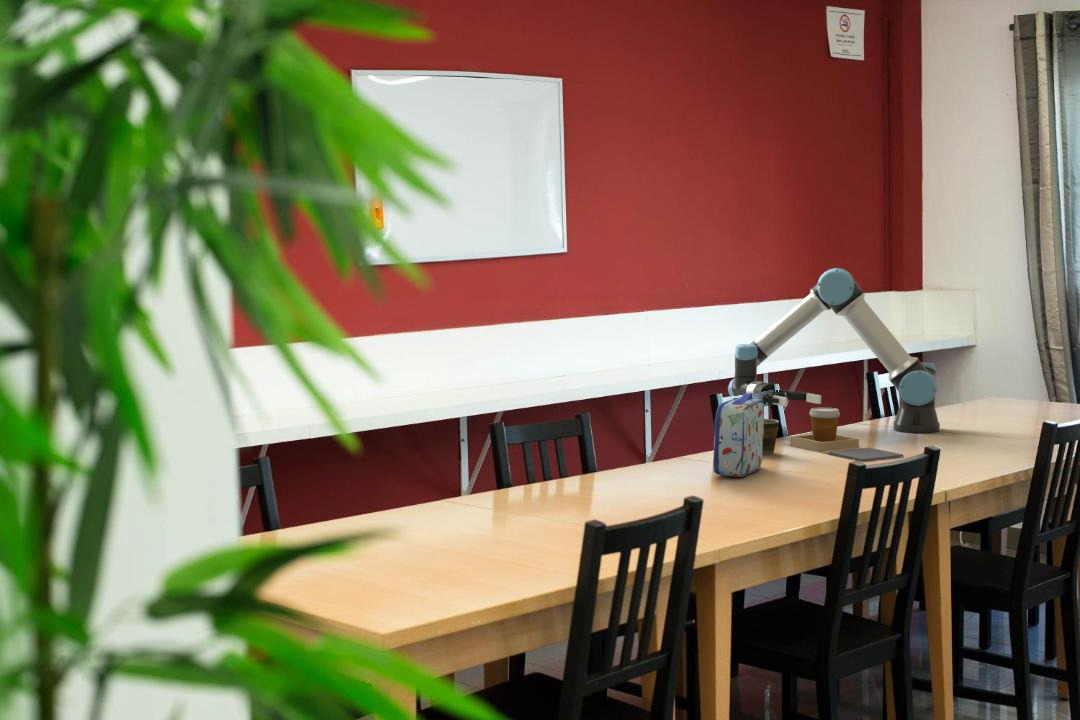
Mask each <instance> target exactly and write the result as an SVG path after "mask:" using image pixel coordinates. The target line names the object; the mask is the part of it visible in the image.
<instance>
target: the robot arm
mask: <svg viewBox="0 0 1080 720" xmlns="http://www.w3.org/2000/svg"><path fill="white" fill-rule="evenodd" d="M865 295H866V294H865V291H864V290H863V289H862V288H861V287H860V285H859V284H858V283H857V281H855V278H854V276H853V275H852V272H849V271H848V270H847V269H845V268H843V267H842V268H841V267H833V268H830V269H828V270H826V271H824V272H823V273H822V274H821V275H820V277H819V278H818V280H817V283H816V284H815V285H813V287H811V288H810V291H809V294H808V295H806V296H805V297H804V298H803V299H802V300H801V301H800V302H798V303H797V304H796V305H794V306H793V307H792V308H791V309H790V310H788V311H787V312H786V313H785V314H784V315H783V316H781V317H780V318H779V319H778V320H776V322H774V323H773V324H772V325H771V326H770V327H768V328H767V329H766V330H765V331H763V332H762V334H760V335H759V336H758V337H757V338H755V339H754V340H753V341H752V342H750V343H742V344H741V343H740V344H739V343H738V344H737V345H736V346H734V347H735V348H734V349H735V350H734V351H735V352H734V376H733V377H734V378H733V379H731V380H730V381H729V384H728V386H727V391H728V394H729V396H730V397H731V396H738V395H743V394H748V393H758V392H763V391H768V390H770V389H771V388H772V387H771V386H772V385H774V384H773V383H769V382H764V381H758V378H757V377H758V376H757V375H758V373H757V372H758V366H760V365H761V364H762V363H763V362H764V361H766V359H768V357H770V356H771V355H772V354H774V353H775V352H776V351H777V350H778V349H780V348H781V347H782V346H783V345H784V344H786V343H787V342H788V341H790V339H792V338H793V337H794V336H796V335H797V334H798V333H799V332H800V331H801V330H802V329H804V328H805V327H806V326H807V325H809V324H810V323H811V322H813V320H814V319H816V318H817V317H819V315H821V314H822V313H823V312H824V311H830V310H831V311H833V312H834V314H835V315H836V316H842V317H844V319H845V320H846V321H847V322H848V324H849V325H850V326H851V327H852V328H853V330H854V331H855V332H856V333H857V335H858V336H859V337H860V339H861V340H862V341H863V342H864V344H866V346H867V347H868V348H869V349H870V351H871V352H872V353H873V355H874V356H875V357H876V358H877V359H878V360H879V362H880V363H881V364H882V366H883V367H884V368H885V369H886V370H887V372H888V380H889V382H890V383H891V384H892V385H893V387H894V388H895V389H896V390H897V391H898V393H899V397H898V398H899V403H898V410H897V414H896V418H895V420H894V421H893V430H894V431H896V432H904V433H914V434H925V433H926V434H928V433H931V434H932V433H937V432H939V431H941V424H940V421H939V419H938V418H939V417H938V414H937V411H936V394H937V391H938V383H937V380H936V374H937V369H936V365H935V363H932V362H921V360H920V359H919V358H918V357H914V356H911V355H910V354H909V353H908V352H907V350H906V349H905V348H904V347H903V346H902V344H901V342H899V341H898V339H897V338H896V337H895V336H894V335H893V333H892V332H891V331H890V330H889V328H888V327H887V326H886V325H885V324H884V322H883V321H882V320H881V318H879V316H878V315H877V314H876V312H875V311H874V310H873V309H872V307H871V306H870V305H869V304H868V302H866V300H865ZM773 387H774V386H773ZM775 387H776V388H777V386H776V385H775ZM759 394H760V396H759V397H760V398H759V399H760V400H762V402H763V404H766V402H768V406H767V407H771V406H773V405H777V406H781V407H788V402H789V401H799V402H800V401H801V402H802V401H804V402H806V403H812V404H818V405H821V404H822V395H820V394H814V392H811V391H810V390H807V392H806V391H792V390H784V389H783V390H782V389H779V392H778V390H776V392H775V393H774V390H770V392H769V393H767V394H766V395H764V394H763V393H759ZM766 396H767V397H766ZM772 403H773V405H772Z"/></svg>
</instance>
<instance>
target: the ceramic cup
mask: <svg viewBox="0 0 1080 720" xmlns="http://www.w3.org/2000/svg"><path fill="white" fill-rule="evenodd" d="M779 427H780V421H779V420H778V419H771V418H764V433H763V445H762V449H763V456H771V455H773V454H774V453H775V450H776V449H775V448H776V442H777V437H778V432H779Z"/></svg>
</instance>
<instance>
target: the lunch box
mask: <svg viewBox="0 0 1080 720" xmlns="http://www.w3.org/2000/svg"><path fill="white" fill-rule="evenodd" d="M764 406H765V405H763V402H762V400H760V399H754V398H752V393H748V394H743V396H742V397H739V398H732V399H730V400H727V401H724V402H722V403H720V404H719V405H718V406H717V409H716V410H715V411H716V413H715V416H714V417H715V419H714V437H713V439H714V440H713V460H712V461H713V462H712V463H713V464H712V465H713V466H712V467H713V472H714V474H716V475H719V476H727V477H736V478H743V477H744V476H747V475H749V474H751V473H755V472H756V471H757V470H758V469H759V468H760V467H762V466H761V465H762V463H763V457H764V455H763V449H762V445H763V433H764V419H765V416H764V415H765V413H764V412H765V411H764V408H765V407H764Z"/></svg>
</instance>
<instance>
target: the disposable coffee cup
mask: <svg viewBox="0 0 1080 720" xmlns="http://www.w3.org/2000/svg"><path fill="white" fill-rule="evenodd" d="M808 415H809V416H810V421H811V422H810V423H811V424H810V425H811V431H812V434H813V440H814V441H819V442H828V441H835V439H836V435H837V431H838V423H839V417H840V416H841V413H840V410H839V408H836V407H812V408H811V409H810V410H809V413H808Z"/></svg>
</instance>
